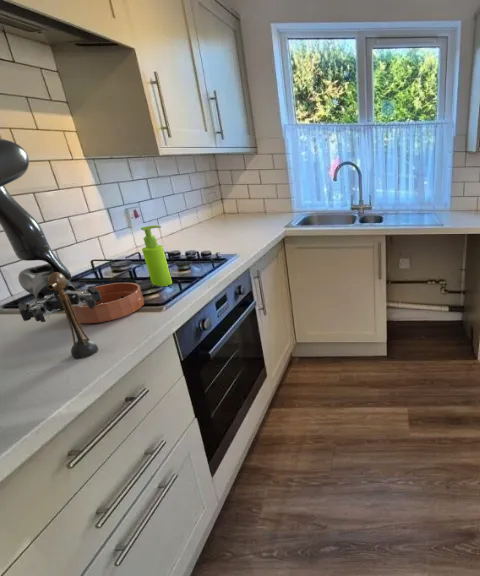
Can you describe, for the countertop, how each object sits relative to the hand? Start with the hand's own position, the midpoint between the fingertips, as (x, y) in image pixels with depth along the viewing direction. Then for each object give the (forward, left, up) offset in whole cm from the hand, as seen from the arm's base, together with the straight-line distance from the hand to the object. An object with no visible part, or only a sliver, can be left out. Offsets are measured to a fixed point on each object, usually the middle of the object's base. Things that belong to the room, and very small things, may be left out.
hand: (67, 311), depth 80 cm
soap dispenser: (+28, +34, -11) cm, 45 cm away
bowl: (+10, +22, -11) cm, 27 cm away
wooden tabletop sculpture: (0, 0, -11) cm, 11 cm away
